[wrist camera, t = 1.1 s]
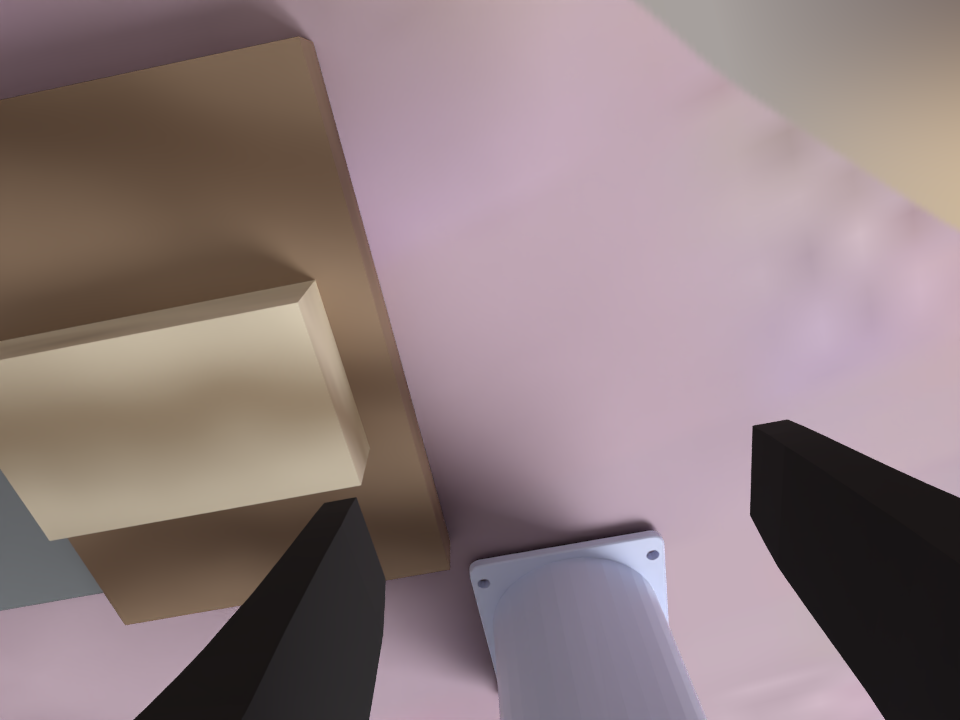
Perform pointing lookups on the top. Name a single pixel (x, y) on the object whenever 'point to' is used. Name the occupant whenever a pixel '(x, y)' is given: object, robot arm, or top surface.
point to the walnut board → (210, 285)
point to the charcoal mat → (35, 559)
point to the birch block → (178, 413)
